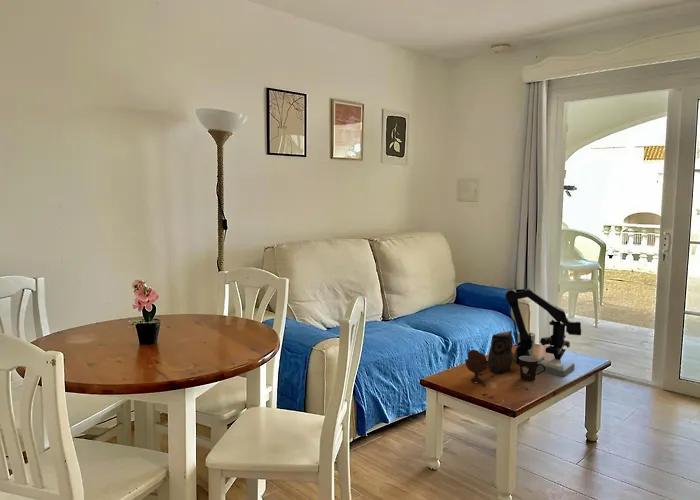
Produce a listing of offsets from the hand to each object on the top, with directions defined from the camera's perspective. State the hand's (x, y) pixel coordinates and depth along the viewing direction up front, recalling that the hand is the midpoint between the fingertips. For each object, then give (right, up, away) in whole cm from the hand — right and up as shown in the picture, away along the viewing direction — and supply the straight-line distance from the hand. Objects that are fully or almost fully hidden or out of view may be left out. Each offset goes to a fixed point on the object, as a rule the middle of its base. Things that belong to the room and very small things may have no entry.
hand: (557, 363), depth 262 cm
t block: (-4, -2, -5) cm, 7 cm away
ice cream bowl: (-47, -4, -21) cm, 52 cm away
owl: (-32, -2, -5) cm, 32 cm away
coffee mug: (-21, -4, -20) cm, 29 cm away
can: (-9, +1, +20) cm, 22 cm away
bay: (-4, -2, -4) cm, 6 cm away
